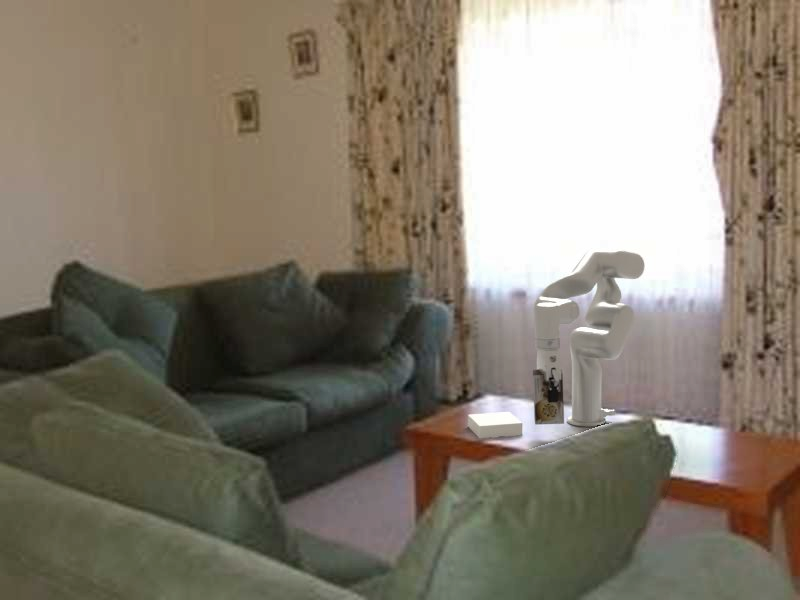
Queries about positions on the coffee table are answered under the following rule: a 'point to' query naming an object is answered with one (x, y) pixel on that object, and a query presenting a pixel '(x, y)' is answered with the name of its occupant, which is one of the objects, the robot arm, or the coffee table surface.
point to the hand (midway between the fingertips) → (548, 398)
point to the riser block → (494, 424)
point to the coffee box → (542, 407)
